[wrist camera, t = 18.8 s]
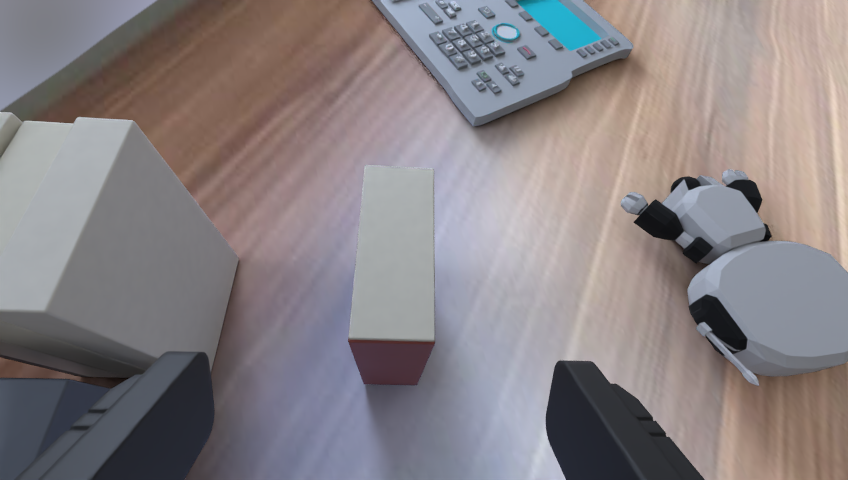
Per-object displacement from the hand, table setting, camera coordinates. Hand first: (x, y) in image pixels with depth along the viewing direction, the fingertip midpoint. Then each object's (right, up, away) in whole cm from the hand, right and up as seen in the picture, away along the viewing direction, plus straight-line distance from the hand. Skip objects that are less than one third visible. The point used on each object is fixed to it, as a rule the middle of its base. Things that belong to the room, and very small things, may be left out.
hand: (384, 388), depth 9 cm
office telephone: (+8, +26, +33) cm, 43 cm away
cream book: (-1, -2, +17) cm, 17 cm away
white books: (-15, -1, +16) cm, 22 cm away
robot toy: (+23, +1, +21) cm, 31 cm away
